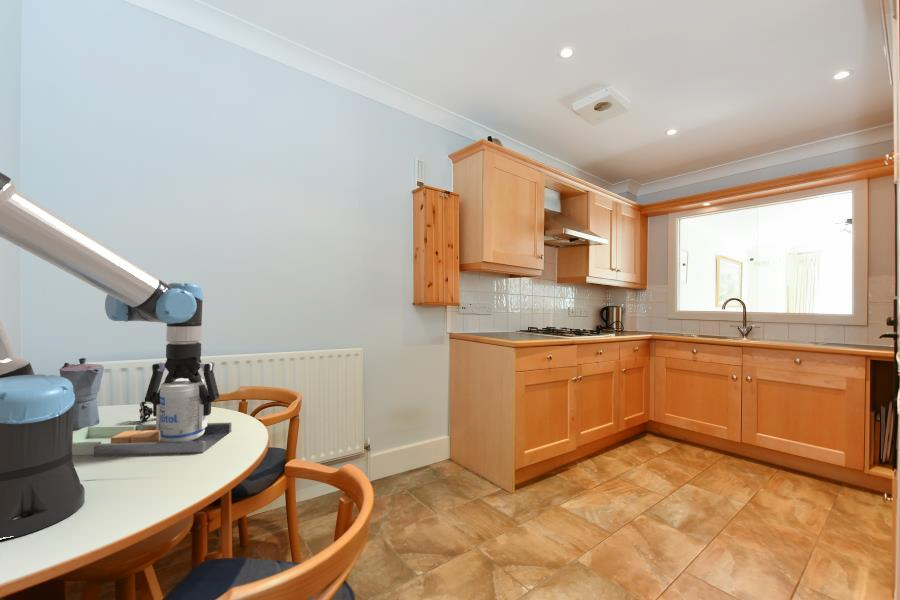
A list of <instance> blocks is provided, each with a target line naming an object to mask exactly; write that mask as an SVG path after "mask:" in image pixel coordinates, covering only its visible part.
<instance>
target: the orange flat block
mask: <svg viewBox="0 0 900 600" xmlns="http://www.w3.org/2000/svg"><path fill="white" fill-rule="evenodd" d="M159 440H160V430H147V431H142V432H140V433H138V434H136V435H134V436H132V437H131V443H144V442H157V441H159Z"/></svg>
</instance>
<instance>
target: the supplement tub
mask: <svg viewBox="0 0 900 600" xmlns="http://www.w3.org/2000/svg"><path fill="white" fill-rule="evenodd" d="M201 379H202V381H200V382H198V383H192V382H190V381H189V379H184V378H178V379H176V380H175V381H173V382H171V383H164V382H161V383H160V388H161V389H160V388H159V390H160V439H161V441H162V442H180V441H191V440H194V439H196V438H198V437H200V436H202V435H203V434H204V432H205V428H204V429H202V430H199V404H201V403H203V402H202V400H201V398H200V397H199V385H200V386H201V385H203V383H204V384H205V379H204V378H201Z"/></svg>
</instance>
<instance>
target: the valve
mask: <svg viewBox="0 0 900 600" xmlns="http://www.w3.org/2000/svg"><path fill="white" fill-rule="evenodd" d="M146 404H147V402H145V400H144V401H141V402H140V403H139V407H140V409H138V410H139V411H138V413H139V414H140V416H139V420H140V424H144V423H147V422H148V419H150V417H151V415H153V407H150V406H148V405H146Z"/></svg>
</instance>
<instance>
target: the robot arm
mask: <svg viewBox="0 0 900 600" xmlns="http://www.w3.org/2000/svg"><path fill="white" fill-rule="evenodd" d="M0 238H2V239H3V240H6V241H8V242H10V243H12V244H13V245H15V246H17V247H19V248H21V249H23V250H24V251H26V252H28V253H30V254H33V255H34V256H36V257H38V258H40V259H42V260H43V261H46V263H49V264H51V265H53V266H54V267H57V268H58V269H60V270H62V271H63V272H65V273H67V274H69V275H72V276H73V277H75V278H77V279H78V280H81V281H82V282H84V283H86V284H88V285H90V286H92V287H94V288H95V289H97V290H100V291H101V292H103V293H105V294H106V297H105V300H104V301H105V302H104V311H105V313H106V316H107V318H108V319H109V320H110V321H113V322H127V323H128V322H139V321H140V322H149V323H163V324H166V335H165V336H166V339H165V340H166V342H167V344H166V345H165V346H166V347H165V357H166V361H165V362H158V363H157V362H156V363H154V364H152V366H151V369H152V374H151V377H150V379H149V380H150V381H149V384H148V387H147V390H146V394H145V397H144V401H145V402H146V403H151V404H152V409H153V413H152V415H153V417H155V424H156V430H160V389H161V383H162V379H163V375H164V372H165V370H167V372H168V373H167V375H166V377H165V378H164V381H163V383H171V382H173V381H175V380H176V379H183V378H184V379H189V381H190V382H192V383H198V382H200V381H202V379H204V383H203V385H201V386H200V385H199V397H200V398H201V400H202V402H203V403H201V404H199V430H202V429H204V428H205V427H207V423H208V417H209V416H210V415H211V413H212V402H214V401H217V400H219V399H220V394H219V389H218V385H217V381H216V378H215V374H214V367H215V365H214V362H202V360H201V357H202V343H201V342H200V341H201V340H202V331H203V330H202V329H203V328H202V326H203V325H202V323H203V318H202V317H203V302H204V299H203V298H204V297H203V287H202V286H201V285H200V284H198V283H191V282H190V283H188V282H187V283H186V282H170V283H168V284H167V283H166V282H164V281H162V280H161V279H159V278H157V277H156V276H154V275H153V274H151V273H149V272H147V271H146V270H144V269H143V268H141V267H139V266H138V265H136V264H135V263H133V262H132V261H130V260H128V259H127V258H125V257H124V256H122V255H121V254H119V253H117V252H115V250H113V249H111V248H110V247H108V246H107V245H105V244H103V243H102V242H100V241H98V240H97V239H95V238H93V237H92V236H90V235H88V234H87V233H85V232H84V231H82V230H81V229H79V228H77V227H76V226H75V225H73V224H71V223H69V222H68V221H66V220H65V219H63V218H61V217H60V216H59V215H57V214H55V213H54V212H52V211H51V210H48V209H47V208H46V207H44V206H42V205H41V204H39V203H38V202H36V201H34V200H33V199H31V198H30V197H28V196H27V195H25V194H23V193H22V192H20V191H18V190H17V189H16V186H15V182H14V180H13V179H11V178H10V177H8V176H7V175H6V174H5V173H3V172H1V171H0ZM6 333H7V332H6V330H5V328H4V326H3V324H2V320H1V319H0V538H3V537H10V536H17V537H21V536H23V535H28V534H31V533H33V532H36V531H39V530H43V529H45V528H47V527H49V526H51V525H52V526H53V525H54V524H56V523H58V522H61V521H63V520H65V519H66V518H68V517H70V516H72V515H73V514H75V513H77V511H79V510H80V509H81V508H82V507H83V506H84V504H85V500H86V499H85V495H86V494H85V493H86V492H85V491H86V490H85V489H86V488H85V487H84V485H83V484H82V483H81V480H80V478H79V475H78V473H77V470H76V468H75V465H74V464H73V455H72V443H73V432H74V431H73V407H74V401H75V394H74V392H73V385H72V383H71V382H70V381H69V380H68V379H66V378H64V377H60V375H55V374H54V375H53V374H52V375H51V374H50V375H47V374H35V372H34V369H33V366H32V365H31V362H30V360H29V359H26V358H23V357H21V356H18V355H16V354H15V353H14V351H13V348H12V346H11V343H10V341H9V338H8V336H7V334H6ZM200 369H201V371H202V372H203V378H202V375H201V374H200V372H199V370H200Z"/></svg>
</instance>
